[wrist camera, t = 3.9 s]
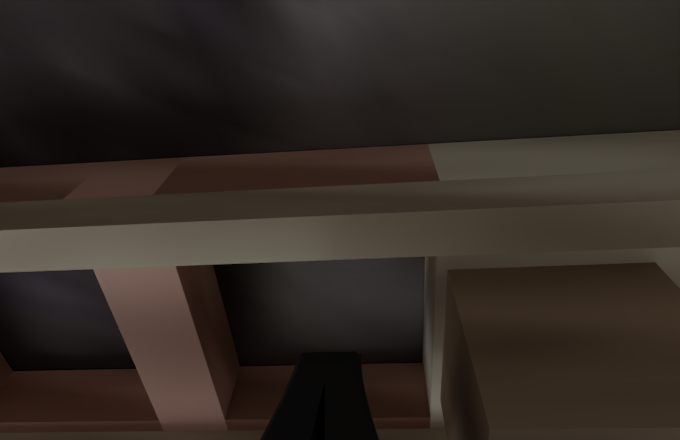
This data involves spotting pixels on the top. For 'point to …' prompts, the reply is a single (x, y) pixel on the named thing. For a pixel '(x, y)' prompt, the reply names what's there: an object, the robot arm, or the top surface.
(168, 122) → the top surface
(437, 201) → the trap lane
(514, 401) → the walnut block
